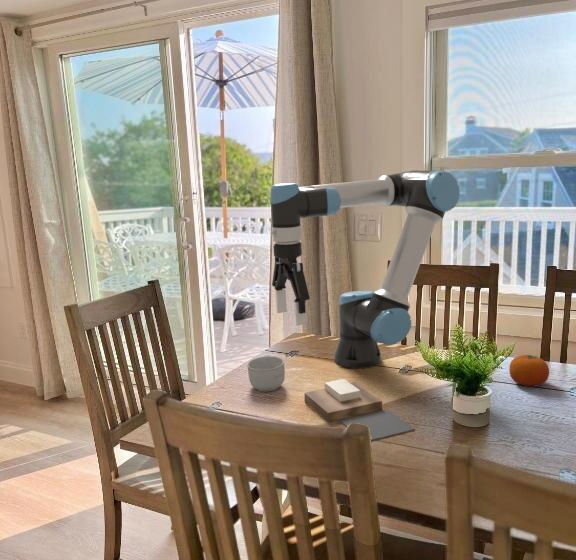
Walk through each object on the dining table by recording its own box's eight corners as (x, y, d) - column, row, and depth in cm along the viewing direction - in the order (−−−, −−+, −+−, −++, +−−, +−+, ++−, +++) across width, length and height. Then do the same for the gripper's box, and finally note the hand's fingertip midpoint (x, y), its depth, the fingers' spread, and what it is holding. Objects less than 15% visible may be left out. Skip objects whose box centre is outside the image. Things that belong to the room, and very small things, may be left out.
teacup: (280, 396, 157) (280, 369, 155) (243, 394, 159) (242, 367, 157) (290, 377, 170) (289, 352, 169) (256, 375, 172) (255, 351, 171)
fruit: (533, 394, 154) (535, 366, 152) (501, 382, 162) (502, 356, 161) (555, 385, 159) (557, 358, 158) (523, 374, 168) (525, 348, 166)
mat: (387, 410, 146) (387, 409, 146) (414, 429, 135) (414, 428, 135) (340, 421, 141) (340, 420, 141) (365, 442, 130) (365, 441, 130)
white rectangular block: (343, 385, 157) (343, 378, 156) (360, 397, 149) (360, 390, 148) (324, 389, 154) (324, 382, 154) (340, 401, 146) (340, 394, 146)
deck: (355, 390, 159) (355, 382, 159) (382, 409, 147) (382, 400, 146) (304, 401, 153) (304, 392, 153) (328, 422, 140) (327, 413, 140)
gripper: (258, 238, 159) (262, 309, 163) (292, 249, 136) (297, 332, 141) (282, 235, 161) (286, 305, 166) (320, 246, 139) (323, 327, 144)
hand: (291, 318), depth 154 cm, fingers open, 13 cm apart
